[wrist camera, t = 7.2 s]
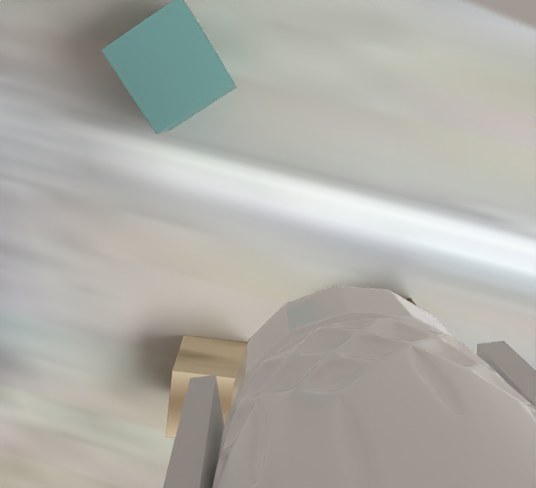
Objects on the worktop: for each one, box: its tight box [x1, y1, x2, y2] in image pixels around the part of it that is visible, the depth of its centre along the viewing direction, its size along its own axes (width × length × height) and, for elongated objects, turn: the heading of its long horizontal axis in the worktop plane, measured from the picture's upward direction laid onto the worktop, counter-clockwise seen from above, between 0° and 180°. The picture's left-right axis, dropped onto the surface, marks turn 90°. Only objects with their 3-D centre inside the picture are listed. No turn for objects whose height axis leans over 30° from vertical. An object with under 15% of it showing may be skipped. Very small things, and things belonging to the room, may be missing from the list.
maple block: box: [166, 335, 248, 438], centre depth 33 cm, size 5×5×5 cm
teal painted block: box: [101, 0, 236, 134], centre depth 28 cm, size 5×5×5 cm
